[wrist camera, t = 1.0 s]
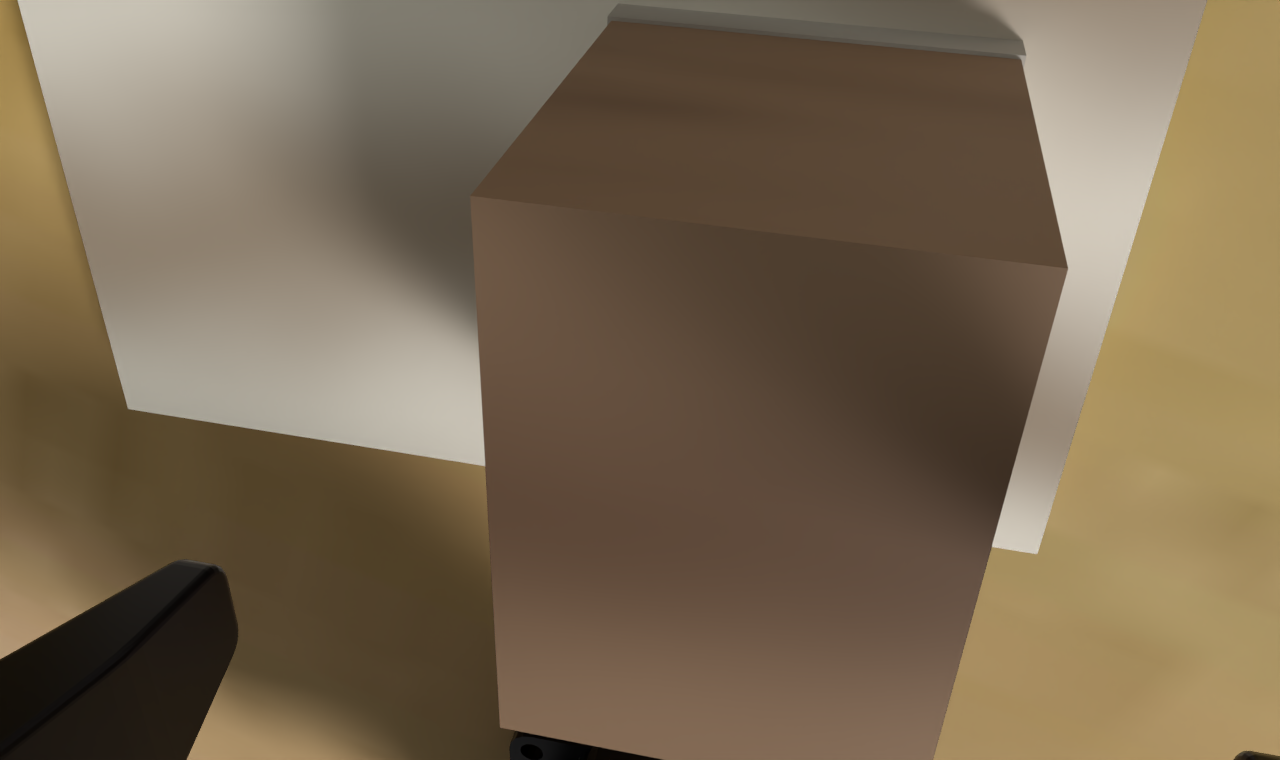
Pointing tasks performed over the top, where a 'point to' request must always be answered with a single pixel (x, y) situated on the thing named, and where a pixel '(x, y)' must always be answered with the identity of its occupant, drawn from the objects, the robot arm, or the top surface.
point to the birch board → (451, 171)
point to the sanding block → (756, 380)
